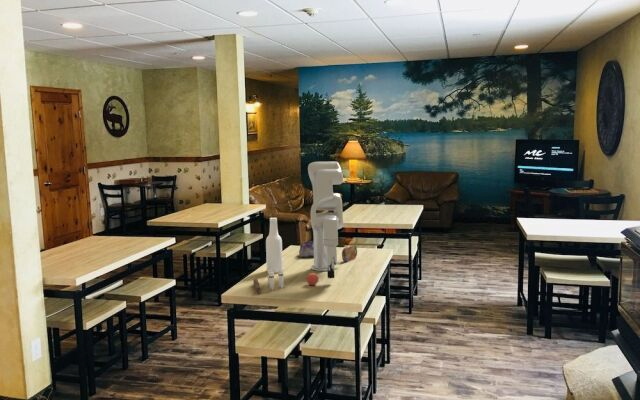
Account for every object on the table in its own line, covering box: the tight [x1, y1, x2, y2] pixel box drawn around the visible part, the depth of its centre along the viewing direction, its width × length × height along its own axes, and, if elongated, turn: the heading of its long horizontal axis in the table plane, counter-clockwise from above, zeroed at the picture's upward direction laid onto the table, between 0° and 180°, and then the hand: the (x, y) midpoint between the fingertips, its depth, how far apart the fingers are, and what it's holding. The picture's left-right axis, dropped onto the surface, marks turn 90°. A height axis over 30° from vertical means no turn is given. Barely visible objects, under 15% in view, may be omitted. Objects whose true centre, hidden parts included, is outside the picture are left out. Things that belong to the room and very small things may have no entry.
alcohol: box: [265, 217, 284, 274], centre depth 295 cm, size 9×9×30 cm
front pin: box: [277, 270, 285, 289], centre depth 266 cm, size 2×2×8 cm
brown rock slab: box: [341, 244, 358, 263], centre depth 320 cm, size 15×3×8 cm, turn 148°
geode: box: [298, 240, 314, 258], centre depth 335 cm, size 20×12×10 cm, turn 163°
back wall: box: [252, 278, 262, 295], centre depth 264 cm, size 2×16×3 cm, turn 13°
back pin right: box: [267, 270, 273, 288], centre depth 267 cm, size 2×2×8 cm
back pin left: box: [268, 272, 275, 291], centre depth 262 cm, size 2×2×8 cm
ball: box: [306, 272, 319, 286], centre depth 270 cm, size 6×6×6 cm
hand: (330, 277), depth 271 cm, fingers closed
